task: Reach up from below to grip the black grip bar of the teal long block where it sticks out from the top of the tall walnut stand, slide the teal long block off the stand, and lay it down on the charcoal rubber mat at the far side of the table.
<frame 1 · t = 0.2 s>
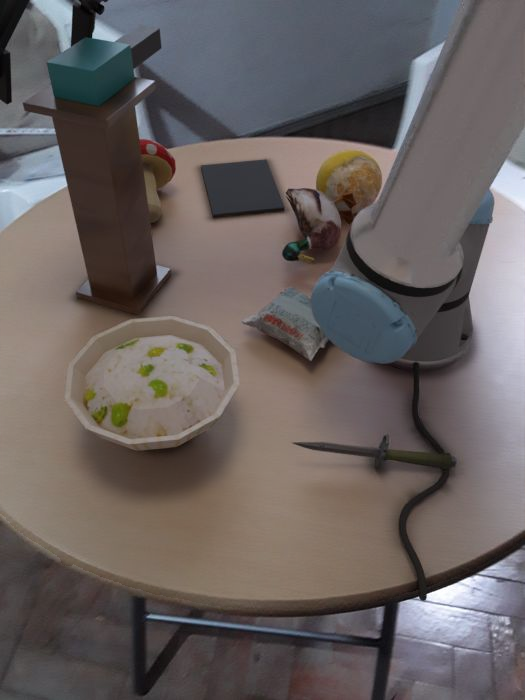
hand: (42, 76, 84), 28 cm above the table, tool tilted 20°, fingers open, 13 cm apart
knife: (371, 465, 77), on the table
decorative duck model: (302, 242, 107), on the table, touching fruit
stand: (125, 285, 99), on the table
packaged food: (294, 337, 92), on the table
bowl: (161, 426, 81), on the table
decorative mushroom: (143, 205, 114), on the table
teal long block: (95, 87, 79), point 29 cm above the table, touching stand
mat: (241, 188, 118), on the table
fruit: (345, 212, 113), on the table, touching decorative duck model
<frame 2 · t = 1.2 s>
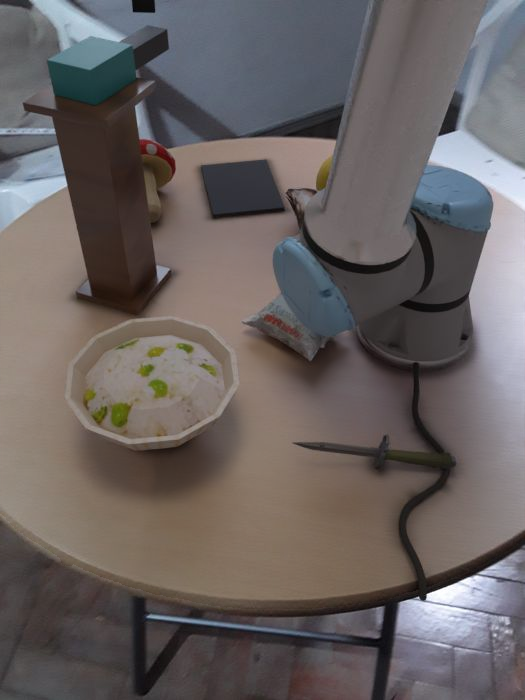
decorative duck model: (302, 242, 107), on the table, touching fruit
fruit: (345, 212, 113), on the table, touching decorative duck model
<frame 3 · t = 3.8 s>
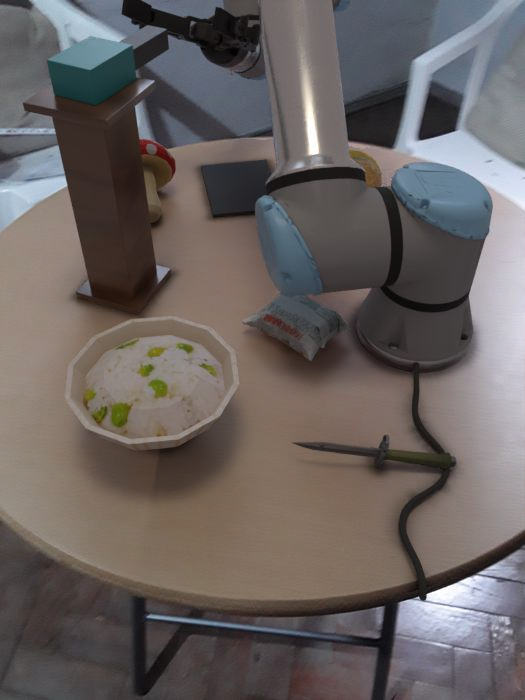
hand: (169, 10, 90), 32 cm above the table, tool pointing upward, fingers open, 13 cm apart
decorative duck model: (302, 242, 107), on the table, touching fruit
fruit: (345, 212, 113), on the table, touching decorative duck model
everything else where it was.
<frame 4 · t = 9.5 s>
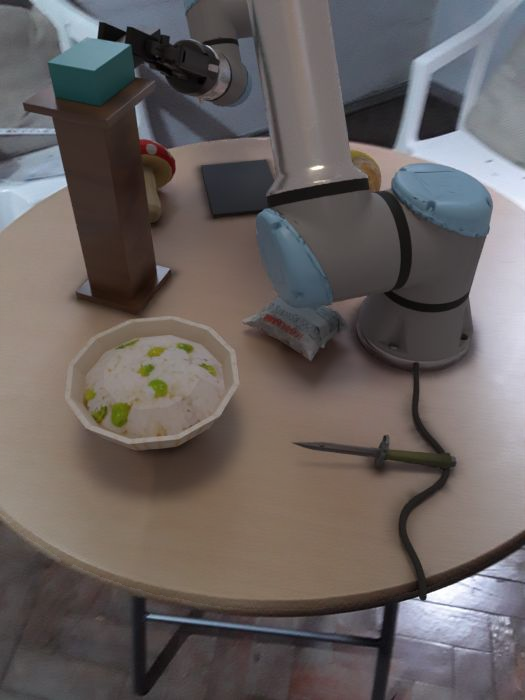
hand: (114, 36, 80), 33 cm above the table, tool pointing upward, fingers closed on teal long block, 3 cm apart
teal long block: (96, 87, 79), point 29 cm above the table, touching gripper, stand
everything else where it was.
when the fingers open (22 cm above the table, at t = 19.1 s): teal long block drops 17 cm, resting on mat.
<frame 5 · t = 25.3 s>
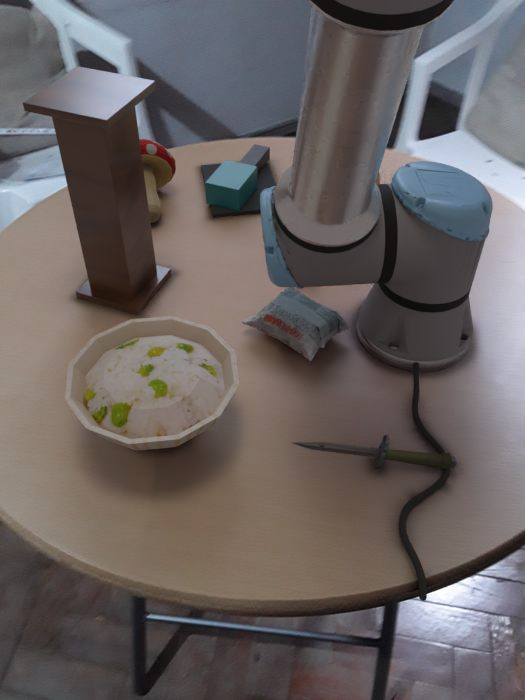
teal long block: (232, 195, 115), point 1 cm above the table, touching mat
everything else where it was.
at the end: teal long block inside the target area on the mat (3.4 cm from its centre), point 0.6 cm above the mat's base; teal long block moved 39.0 cm from its start; the gripper is holding nothing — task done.
